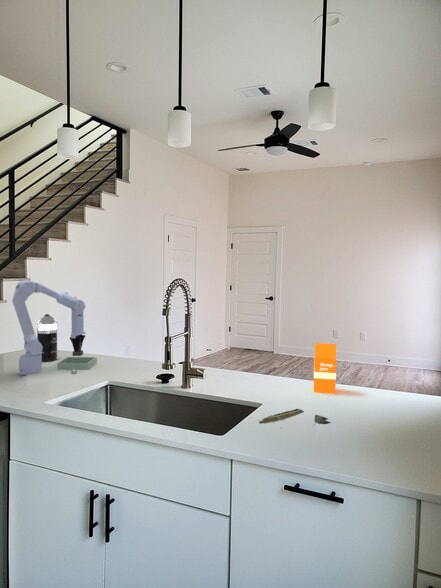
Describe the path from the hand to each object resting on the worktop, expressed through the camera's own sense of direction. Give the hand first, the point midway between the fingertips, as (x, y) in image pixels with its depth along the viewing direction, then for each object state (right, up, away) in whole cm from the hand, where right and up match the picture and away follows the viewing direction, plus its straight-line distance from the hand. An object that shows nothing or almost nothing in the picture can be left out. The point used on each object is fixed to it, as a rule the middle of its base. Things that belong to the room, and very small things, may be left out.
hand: (77, 350), depth 213 cm
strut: (0, -2, 0) cm, 2 cm away
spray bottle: (-22, -8, +18) cm, 30 cm away
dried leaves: (+96, -15, -72) cm, 121 cm away
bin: (0, -9, +1) cm, 9 cm away
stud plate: (+3, -10, -14) cm, 18 cm away
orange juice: (+116, -13, -33) cm, 121 cm away
